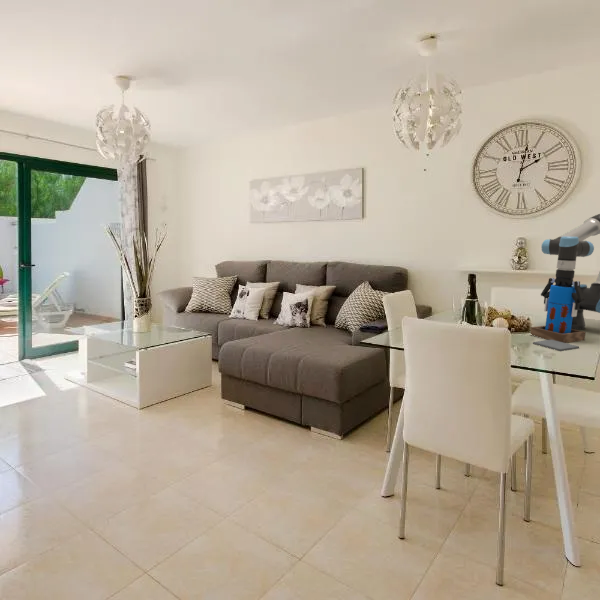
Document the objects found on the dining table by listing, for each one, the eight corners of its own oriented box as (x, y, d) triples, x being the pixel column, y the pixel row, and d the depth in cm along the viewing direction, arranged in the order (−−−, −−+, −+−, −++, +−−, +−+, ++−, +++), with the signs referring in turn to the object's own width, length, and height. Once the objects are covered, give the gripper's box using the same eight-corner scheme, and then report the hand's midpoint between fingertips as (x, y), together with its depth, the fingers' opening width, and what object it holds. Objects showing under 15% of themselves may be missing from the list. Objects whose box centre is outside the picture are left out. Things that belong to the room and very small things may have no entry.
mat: (551, 341, 211) (551, 339, 211) (578, 348, 200) (579, 346, 200) (532, 343, 205) (533, 342, 205) (560, 351, 194) (560, 349, 194)
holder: (551, 332, 229) (552, 324, 229) (584, 340, 215) (585, 331, 214) (530, 335, 222) (531, 327, 221) (562, 343, 207) (563, 334, 207)
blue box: (573, 341, 212) (580, 288, 208) (548, 339, 214) (555, 287, 210) (564, 335, 223) (571, 285, 218) (541, 334, 225) (547, 284, 221)
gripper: (536, 267, 222) (531, 309, 226) (587, 272, 200) (581, 319, 204) (546, 266, 226) (540, 308, 229) (597, 272, 204) (591, 318, 207)
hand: (559, 313), depth 216 cm, fingers open, 13 cm apart
